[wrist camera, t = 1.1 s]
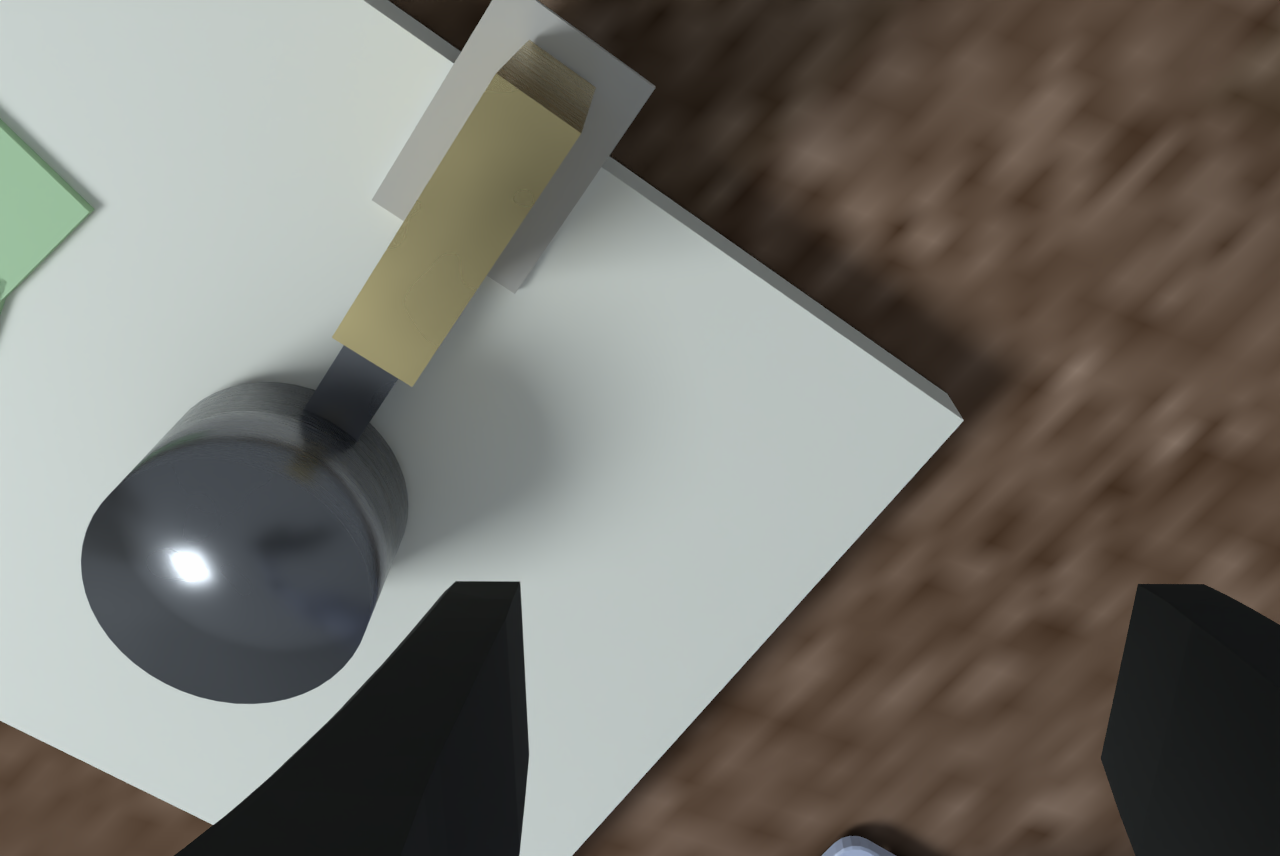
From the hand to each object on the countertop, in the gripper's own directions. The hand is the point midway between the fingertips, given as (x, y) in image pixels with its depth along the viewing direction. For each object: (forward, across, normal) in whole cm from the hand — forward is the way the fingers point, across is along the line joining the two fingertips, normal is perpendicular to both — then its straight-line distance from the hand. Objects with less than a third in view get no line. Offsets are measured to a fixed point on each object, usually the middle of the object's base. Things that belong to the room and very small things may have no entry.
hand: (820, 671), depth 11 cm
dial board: (+10, +8, +3) cm, 13 cm away
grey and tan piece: (+9, +6, 0) cm, 11 cm away
